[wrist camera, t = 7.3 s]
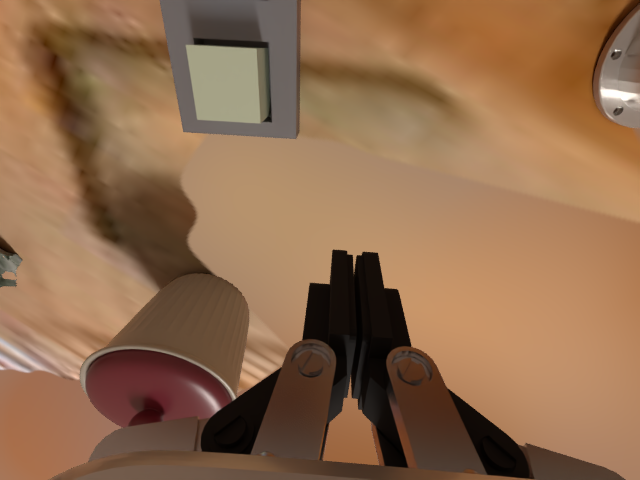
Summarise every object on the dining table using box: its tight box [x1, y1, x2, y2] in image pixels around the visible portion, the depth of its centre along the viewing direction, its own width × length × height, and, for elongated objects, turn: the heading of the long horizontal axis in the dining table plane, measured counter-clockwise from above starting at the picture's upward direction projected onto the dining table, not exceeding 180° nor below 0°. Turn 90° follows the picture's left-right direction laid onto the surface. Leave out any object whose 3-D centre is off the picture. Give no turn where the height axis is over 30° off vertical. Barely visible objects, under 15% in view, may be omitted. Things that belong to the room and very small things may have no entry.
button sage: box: [186, 45, 271, 124], centre depth 30 cm, size 6×6×5 cm
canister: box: [80, 273, 249, 428], centre depth 41 cm, size 18×18×21 cm
